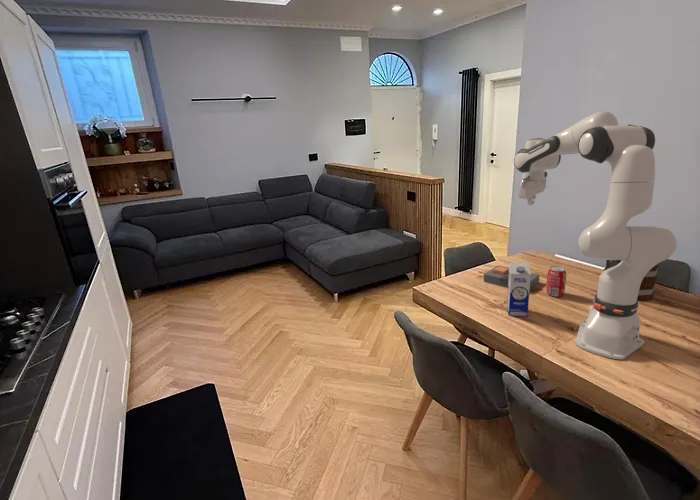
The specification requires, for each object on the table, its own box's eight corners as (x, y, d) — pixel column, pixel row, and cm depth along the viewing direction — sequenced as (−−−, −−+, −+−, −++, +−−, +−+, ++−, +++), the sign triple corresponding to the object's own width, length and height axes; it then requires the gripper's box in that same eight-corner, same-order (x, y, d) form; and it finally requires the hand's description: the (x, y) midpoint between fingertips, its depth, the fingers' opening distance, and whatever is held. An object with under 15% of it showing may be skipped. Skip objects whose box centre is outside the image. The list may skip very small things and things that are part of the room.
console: (525, 292, 165) (526, 284, 164) (483, 281, 180) (483, 273, 178) (538, 282, 174) (539, 274, 173) (497, 272, 188) (498, 265, 187)
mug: (662, 296, 153) (669, 262, 148) (639, 304, 148) (646, 269, 143) (614, 280, 170) (618, 249, 165) (592, 286, 166) (597, 254, 161)
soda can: (560, 290, 165) (562, 265, 161) (567, 297, 158) (570, 271, 154) (543, 291, 166) (545, 265, 162) (549, 298, 159) (552, 271, 155)
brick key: (503, 277, 176) (503, 271, 175) (493, 275, 180) (493, 269, 179) (508, 274, 179) (508, 268, 178) (498, 272, 183) (498, 266, 182)
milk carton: (525, 308, 152) (528, 262, 146) (527, 316, 146) (531, 269, 140) (506, 307, 154) (509, 262, 148) (508, 315, 148) (511, 268, 142)
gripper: (530, 178, 163) (527, 209, 167) (549, 172, 175) (546, 201, 180) (515, 178, 167) (513, 208, 172) (535, 171, 180) (533, 200, 184)
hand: (530, 204), depth 176 cm, fingers closed
